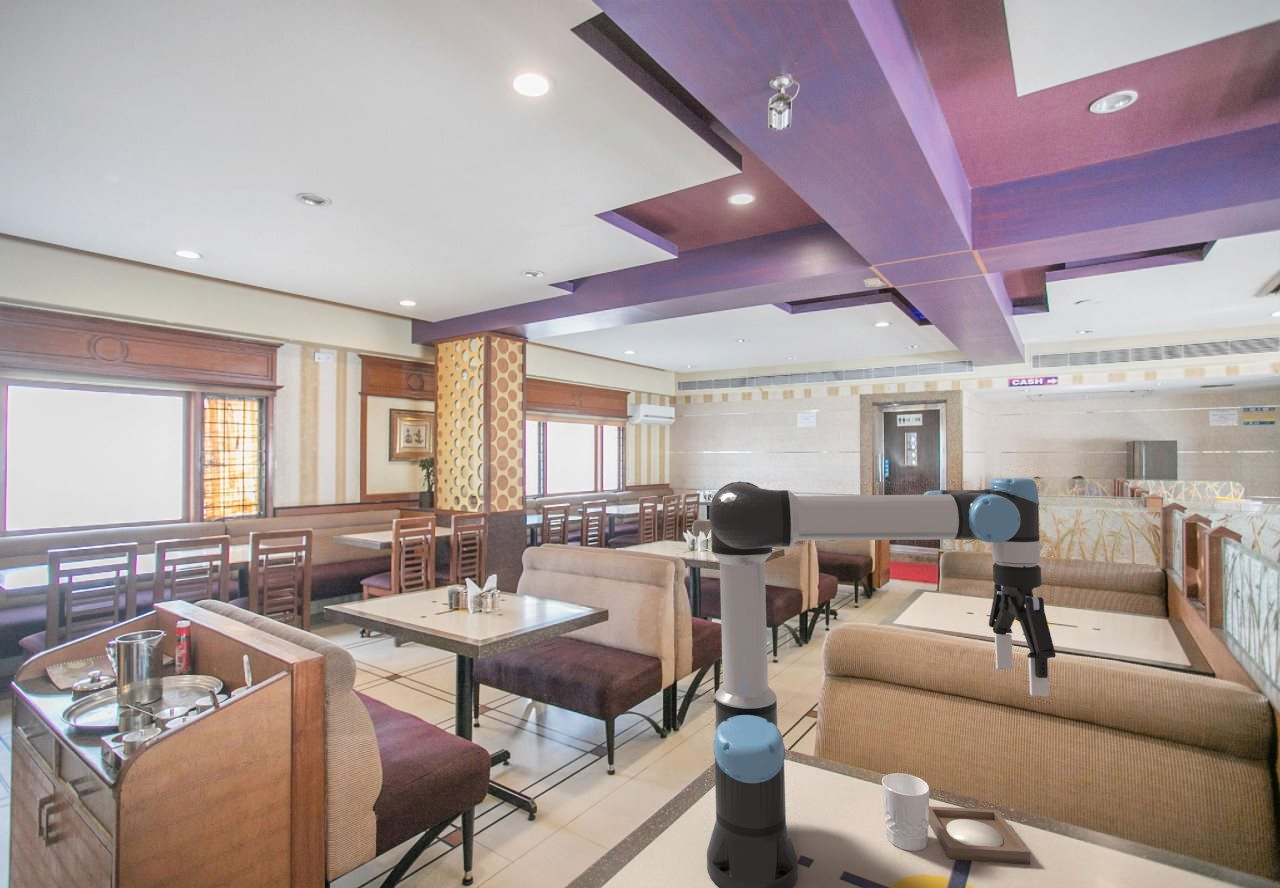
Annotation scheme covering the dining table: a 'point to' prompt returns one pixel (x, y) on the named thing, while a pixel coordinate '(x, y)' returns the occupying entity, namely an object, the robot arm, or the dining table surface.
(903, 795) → the white cup
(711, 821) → the dining table surface
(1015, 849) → the tray
